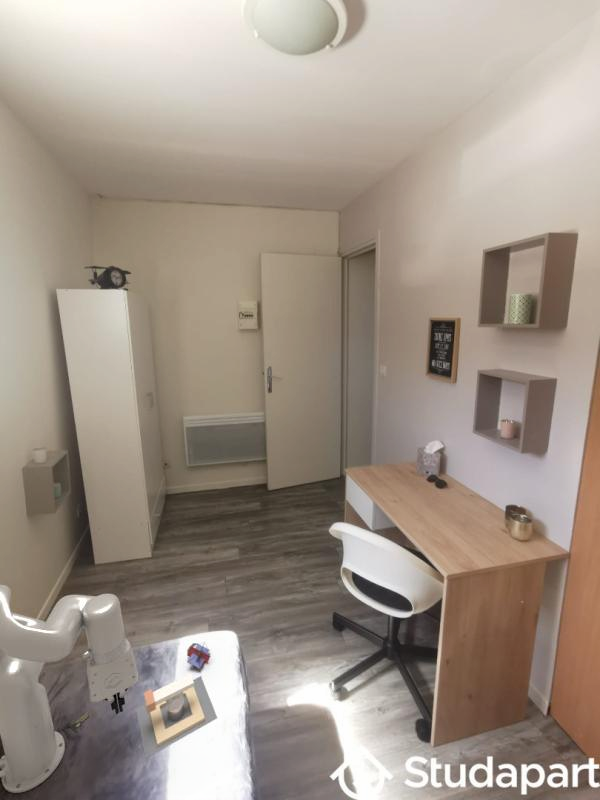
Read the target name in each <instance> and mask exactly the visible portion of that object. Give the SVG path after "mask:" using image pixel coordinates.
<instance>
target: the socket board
mask: <svg viewBox="0 0 600 800" xmlns="http://www.w3.org/2000/svg"><path fill="white" fill-rule="evenodd" d="M193 681H194V687H192V688H190V689H188V690H186V691H184V692H183V698H184V709H185V712H184V715H183V717H182V718H181V719H180V720H178V721H175V722H172V721H170V720H169V719H168V716H167V707H166V701H164V702H162V703H160V704H158V705H156V710H154V711H152V712H150V713H147V708H146V704H145V703H144V704H142V705H139V706H138V707H135V710H136V716H137V723H138V726H139V731H140V736H141V737H140V738H141V742H142V746H143V750H144V751H143V753H144V757H145V759H148V758H149V757H151V756H153V755H154V754H156V753H158V752H160V751H162V750H163V749H165V748H167V747H168V746H171V745H172V744H174V743H175V742H178V741H179V740H181V739H183V738H185V737H187V736H188V735H190V734H192V733H194V732H196V731H198V729H200V728H203V727H204V726H206V725H208V724H210V723H211V722H213V721H214V720H216V719H218V716H217V714H216V712H215V708H214V706H213V703H212V701H211V698H210V695H209V693H208V691H207V688H206V685H205V683H204V680H203V678H202V676H199V677H196V678H194V679H193Z"/></svg>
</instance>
